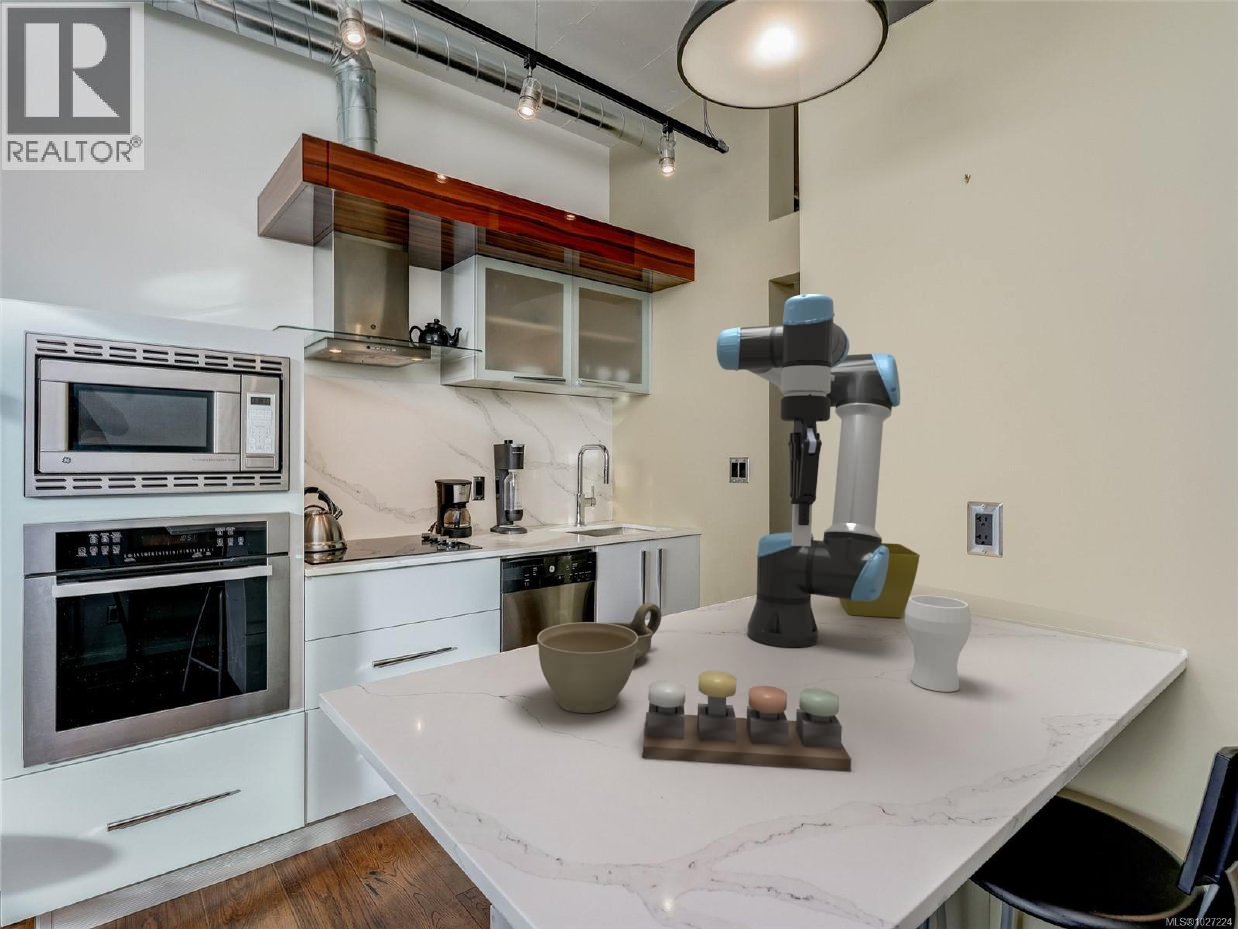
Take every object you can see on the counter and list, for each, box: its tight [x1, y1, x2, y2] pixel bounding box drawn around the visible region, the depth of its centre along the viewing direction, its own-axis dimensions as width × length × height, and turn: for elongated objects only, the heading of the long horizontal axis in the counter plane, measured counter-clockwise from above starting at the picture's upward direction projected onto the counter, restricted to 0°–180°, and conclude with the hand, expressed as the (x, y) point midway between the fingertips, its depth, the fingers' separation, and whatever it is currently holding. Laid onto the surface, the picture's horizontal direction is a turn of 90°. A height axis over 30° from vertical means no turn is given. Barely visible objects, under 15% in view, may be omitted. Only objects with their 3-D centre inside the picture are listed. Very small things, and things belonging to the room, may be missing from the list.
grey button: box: [647, 680, 686, 713], centre depth 90 cm, size 5×5×5 cm
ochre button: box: [698, 670, 737, 716], centre depth 89 cm, size 5×5×5 cm
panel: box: [642, 702, 852, 771], centre depth 89 cm, size 27×11×4 cm, turn 85°
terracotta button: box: [748, 685, 788, 719], centre depth 89 cm, size 5×5×5 cm
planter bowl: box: [536, 621, 638, 714], centre depth 103 cm, size 16×16×11 cm
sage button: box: [798, 687, 840, 722], centre depth 88 cm, size 5×5×5 cm
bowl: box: [607, 602, 662, 660], centre depth 125 cm, size 14×18×10 cm
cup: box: [904, 594, 972, 693], centre depth 114 cm, size 11×11×15 cm
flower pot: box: [838, 542, 920, 619], centre depth 166 cm, size 19×19×17 cm
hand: (801, 545), depth 101 cm, fingers closed
